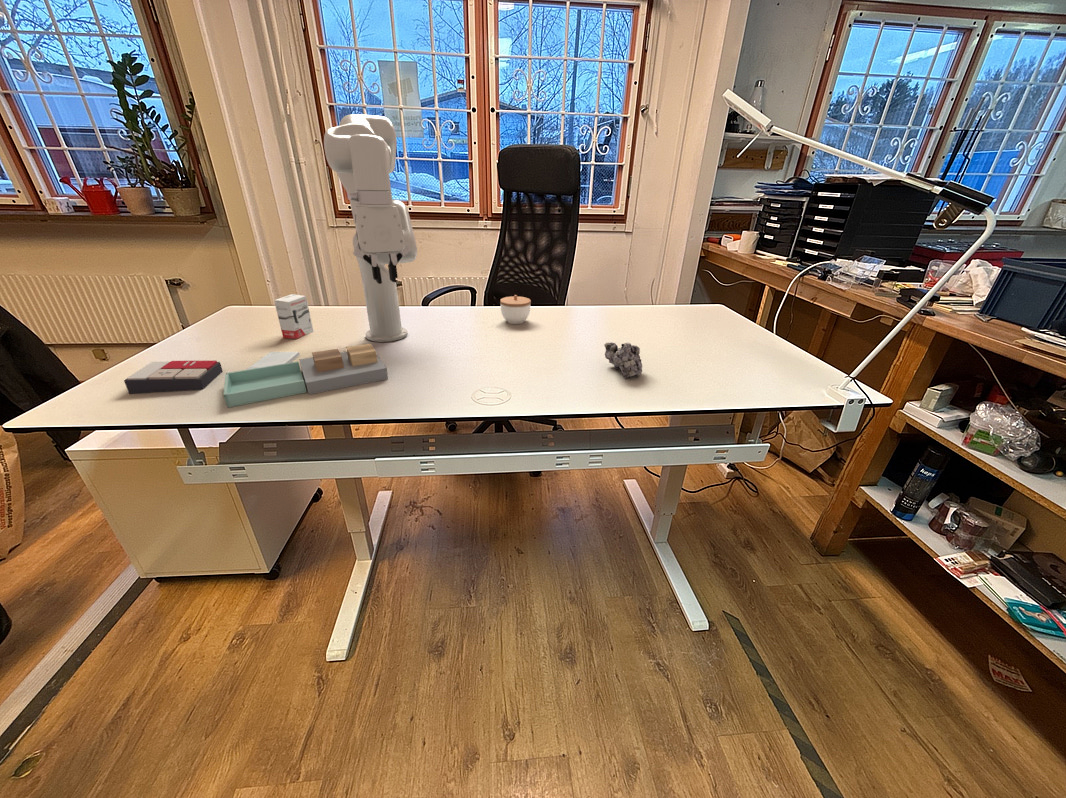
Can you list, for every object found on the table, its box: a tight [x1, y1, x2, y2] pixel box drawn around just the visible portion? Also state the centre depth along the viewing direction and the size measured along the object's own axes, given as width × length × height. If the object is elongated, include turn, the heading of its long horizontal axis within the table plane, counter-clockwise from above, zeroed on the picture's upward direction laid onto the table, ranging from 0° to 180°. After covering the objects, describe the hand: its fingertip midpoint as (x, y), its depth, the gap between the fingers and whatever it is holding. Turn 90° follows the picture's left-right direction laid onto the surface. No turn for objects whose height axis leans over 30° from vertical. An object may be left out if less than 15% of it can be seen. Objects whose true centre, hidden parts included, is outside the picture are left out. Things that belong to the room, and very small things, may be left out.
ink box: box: [274, 293, 314, 340], centre depth 131 cm, size 8×5×12 cm, turn 169°
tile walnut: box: [311, 348, 344, 372], centre depth 104 cm, size 6×6×3 cm
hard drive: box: [245, 351, 301, 370], centre depth 112 cm, size 2×8×12 cm
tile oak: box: [345, 343, 378, 366], centre depth 108 cm, size 6×6×3 cm
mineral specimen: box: [603, 341, 643, 380], centre depth 111 cm, size 12×9×10 cm
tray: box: [222, 360, 308, 408], centre depth 99 cm, size 13×15×3 cm
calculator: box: [123, 359, 224, 395], centre depth 101 cm, size 11×4×15 cm
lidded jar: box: [499, 294, 532, 325], centre depth 149 cm, size 11×11×9 cm
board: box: [298, 351, 389, 395], centre depth 107 cm, size 16×18×3 cm
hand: (386, 281), depth 103 cm, fingers open, 2 cm apart
